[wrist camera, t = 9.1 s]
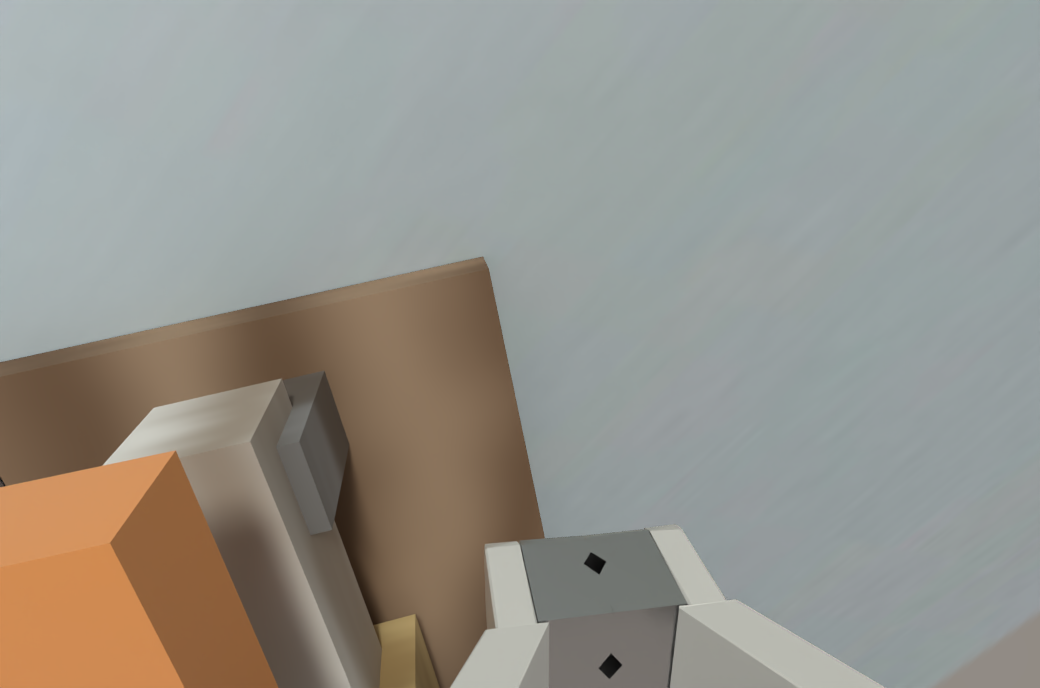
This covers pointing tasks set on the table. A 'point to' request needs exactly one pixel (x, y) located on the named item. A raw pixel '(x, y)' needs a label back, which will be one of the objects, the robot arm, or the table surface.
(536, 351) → the table surface
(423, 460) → the valve stand
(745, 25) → the table surface
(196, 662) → the valve lever
